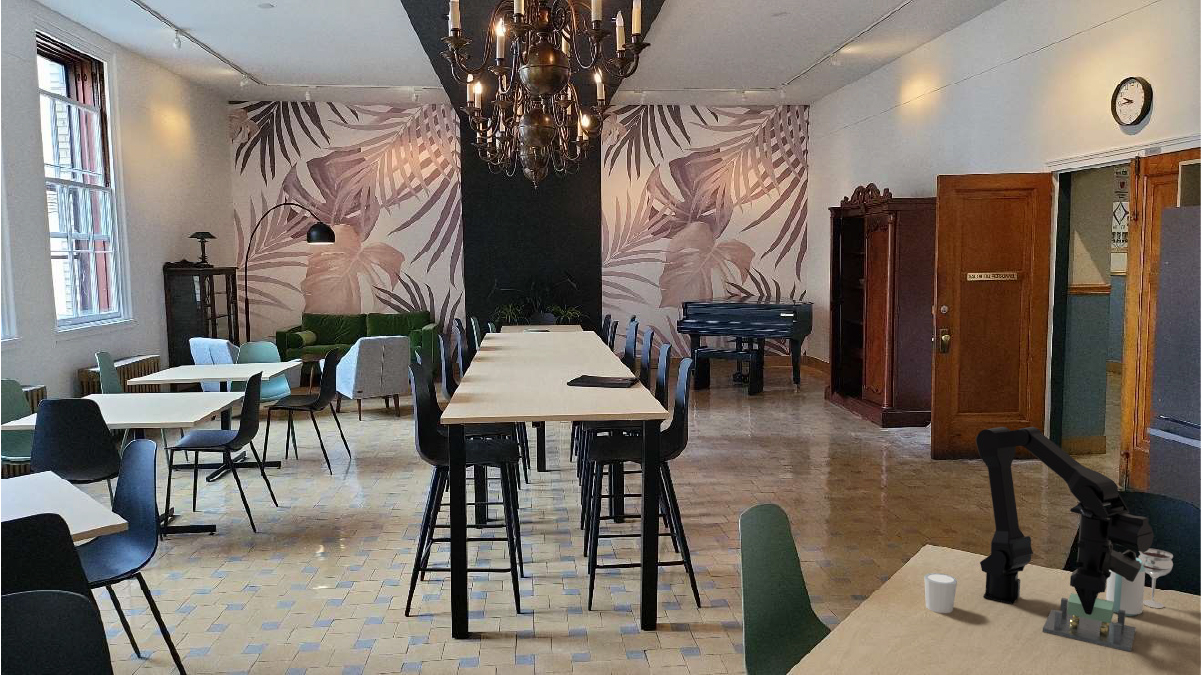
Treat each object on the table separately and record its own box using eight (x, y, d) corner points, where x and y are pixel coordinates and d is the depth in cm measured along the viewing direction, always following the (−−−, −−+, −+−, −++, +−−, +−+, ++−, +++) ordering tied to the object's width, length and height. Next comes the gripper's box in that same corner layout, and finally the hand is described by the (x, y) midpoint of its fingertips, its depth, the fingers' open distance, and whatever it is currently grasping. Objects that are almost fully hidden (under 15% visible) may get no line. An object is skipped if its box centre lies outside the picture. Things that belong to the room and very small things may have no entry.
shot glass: (922, 611, 195) (923, 581, 194) (923, 600, 201) (924, 570, 201) (955, 616, 193) (957, 585, 192) (955, 604, 199) (957, 575, 198)
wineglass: (1170, 612, 195) (1174, 560, 194) (1135, 606, 199) (1138, 554, 198) (1169, 602, 201) (1173, 551, 200) (1134, 596, 204) (1138, 546, 203)
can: (1115, 602, 201) (1119, 551, 200) (1148, 612, 195) (1152, 560, 194) (1099, 608, 197) (1102, 557, 196) (1132, 619, 191) (1135, 566, 190)
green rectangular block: (1067, 614, 185) (1068, 601, 185) (1070, 605, 189) (1071, 593, 189) (1110, 623, 180) (1111, 610, 180) (1113, 614, 185) (1113, 601, 185)
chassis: (1042, 631, 185) (1043, 611, 184) (1051, 612, 195) (1052, 593, 194) (1130, 651, 176) (1132, 630, 175) (1135, 631, 186) (1136, 611, 185)
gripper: (1136, 558, 171) (1130, 634, 173) (1143, 533, 186) (1138, 604, 188) (1071, 546, 177) (1067, 620, 179) (1083, 523, 193) (1079, 592, 194)
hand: (1090, 609), depth 185 cm, fingers closed on green rectangular block, 5 cm apart
